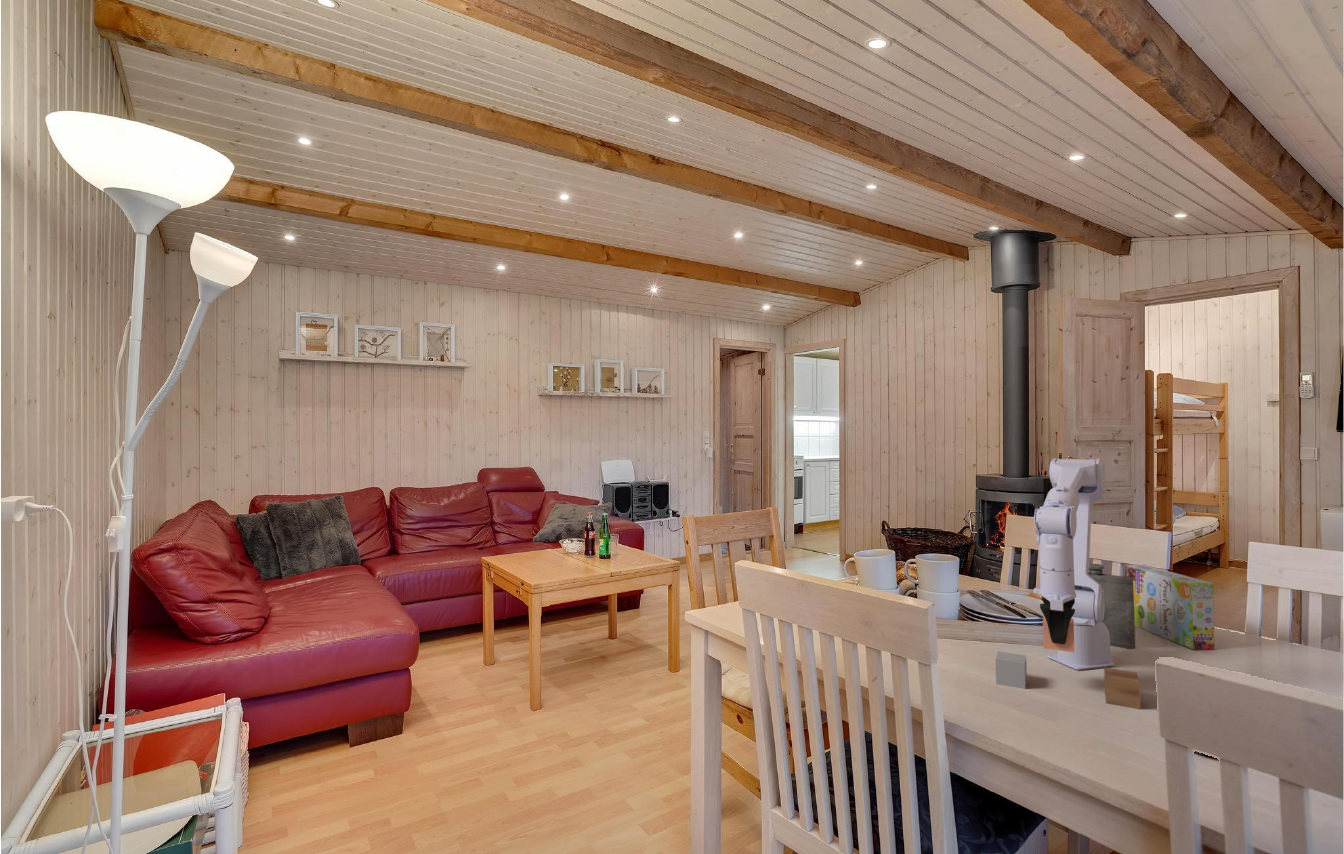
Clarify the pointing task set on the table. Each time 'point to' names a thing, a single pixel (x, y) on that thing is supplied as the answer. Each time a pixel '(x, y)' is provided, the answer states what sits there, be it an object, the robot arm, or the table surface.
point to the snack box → (1173, 606)
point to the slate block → (1011, 670)
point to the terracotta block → (1062, 647)
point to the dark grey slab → (1117, 606)
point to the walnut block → (1122, 688)
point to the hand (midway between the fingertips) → (1058, 638)
